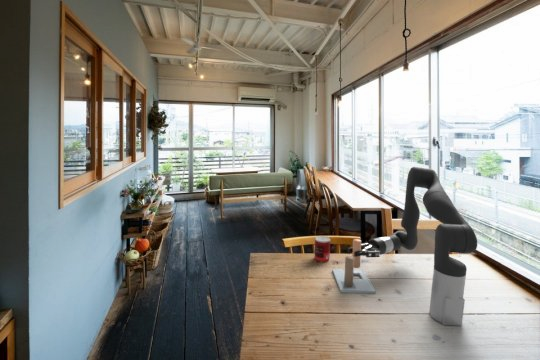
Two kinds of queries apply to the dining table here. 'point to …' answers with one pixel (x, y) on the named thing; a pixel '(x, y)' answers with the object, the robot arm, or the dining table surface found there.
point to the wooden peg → (356, 248)
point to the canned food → (322, 249)
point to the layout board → (358, 282)
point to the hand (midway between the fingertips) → (351, 252)
